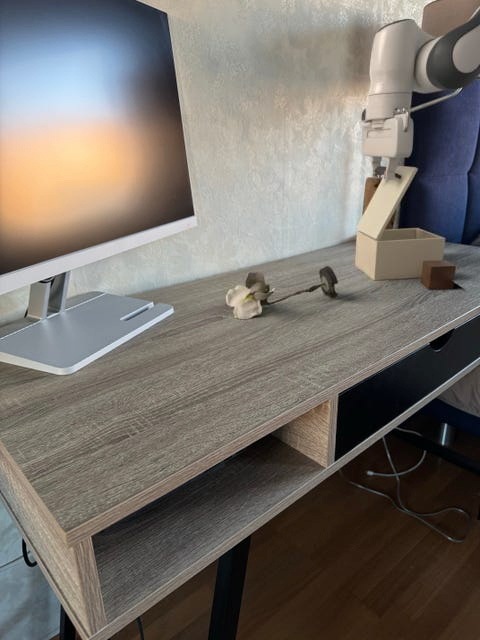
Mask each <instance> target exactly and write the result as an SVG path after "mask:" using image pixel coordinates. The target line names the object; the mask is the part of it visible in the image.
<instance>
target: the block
mask: <svg viewBox="0 0 480 640" xmlns="http://www.w3.org/2000/svg"><path fill="white" fill-rule="evenodd" d="M383 177H384V176H381V177H380V178H373V177H372V176H371V177H370V176H368V177H366V178H365V179H366V180H365V184H364V191H363V199H362V200H363V201H362V212H361V217H362V216H363V214H364V212H365V211H366V209H367V207H368V205H369V203H370V201H371V199H372V197H373V196H374V194H375V192H376V190H377V188H378V186H379V184H380V182H381V181H382V179H383ZM397 209H398V207H397V208H396V210H395V212H394V213H393V215H392V217H391V219H390V221H389V222H388V224H387V226H386V228H385V230H390V229H394V224H395V222H396V215H397Z"/></svg>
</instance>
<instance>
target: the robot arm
mask: <svg viewBox="0 0 480 640" xmlns="http://www.w3.org/2000/svg"><path fill="white" fill-rule="evenodd" d="M369 62H370V64H369V78H370V85H369V86H370V87H369V91H368V94H367V103H366V105H365V107H364V109H362V111H361V113H360V122H361V123H363V124H362V126H361V153H362V156H363V157H370V166H371V177H373V178H380V177H384V179H385V180H393V179H394V178H395V171H396V168H397V166H399V163H400V159H401V158H409V157H411V154H412V152H413V147H414V146H413V145H414V142H413V141H414V121H413V118H411V108H412V107H411V106H412V96H413V93H414V92H415V93H419V94H431V93H438V92H441V91H448V90H449V91H450V90H459V89H463V88H465V87H467V86H470V84H472V83H473V82H475V80H476V79H477V78H478V77H479V76H480V5H479V6H478V8H477V9H476V10H475V12H474V13H473V14H472V15H471V17H469V19H468V20H466V22H465V23H463V24H461V25H459V26H457V27H455V28H453V29H452V30H450V31H448V32H446V33H445V34H443V35H440V36H439V37H436V36H434V35H431V34H430V33H428V32H427V31H425V30H424V29H422V28H421V26H419V24H418V23H417V22H416V20H415V19H412V18H404V19H399V20H394V21H393V22H389V23H387V24H385V25H384V26H382V27H381V28H379V29H378V31H377V32H376V33H375V35H374V37H373V42H372V47H371V55H370V61H369ZM383 158H386V167H387V168H386V171H384V175H380V174H377V173H376V168H377V167H378V166H382V165H381V164H382V163H381V162H382V160H383Z"/></svg>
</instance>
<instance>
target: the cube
mask: <svg viewBox="0 0 480 640" xmlns="http://www.w3.org/2000/svg"><path fill="white" fill-rule="evenodd" d="M456 268H457V265H455V264H454V263H452V262H450V261H449V260H448V259H447V260H446V259H443V260H436V261H423V267H422V276H421V278H420V284H421V285H422V286H424V287H425V288H426V289H427V290H429V291H431V290H439V291H440V290H453V289H454V285H455V277H456Z"/></svg>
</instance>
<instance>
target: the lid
mask: <svg viewBox="0 0 480 640" xmlns="http://www.w3.org/2000/svg"><path fill="white" fill-rule="evenodd" d="M386 168H387V166H385V165H381V166H378V167H377V168H376V173H377V174H380V175H382V177H383V179H382V181H381V182H380V184H379V186H378V188H377V190H376V192H375V194H374V196H373V197H372V199H371V201H370V203H369V205H368V207H367V209H366V211H365V212H364V214H363V216H362V215H361V218H360V220H359V222H358V223H357V226H356V227H355V230H357V231H361V232H363V233H365V234H367V235H368V236H370V237H372V238H374V239H376V240H379V239H380V237H381V235H382V233H383V231H384V230H385V228H386V226H387V224H388V222H389V221H390V219H391V217H392V215H393V213H394V212H395V210H396V211H397V209H398V207H399V205H400V202H401V201H402V199H403V197H404V195H405V193H406V191H407V190H408V188H409V187H410V185H411V183H412V181H413V179H414V177H415V175H416V173H417V172H418V170H419V168H417V167H416V166H405V165H404V166H403V165H398V166H397V168H396V171H395V178H394V179H393V180H385V179H384V171H386ZM396 208H397V209H396Z"/></svg>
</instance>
